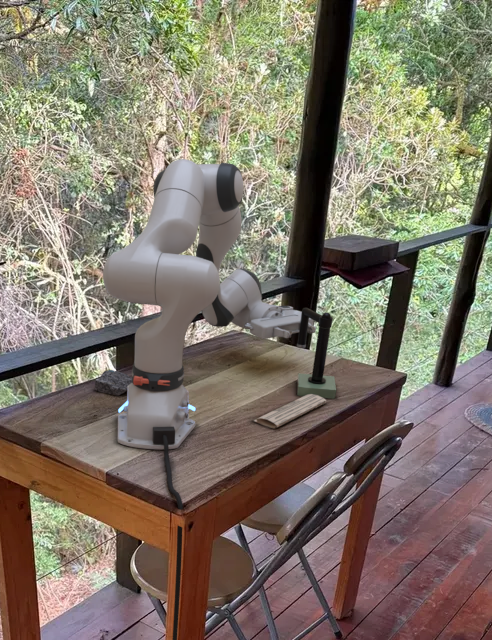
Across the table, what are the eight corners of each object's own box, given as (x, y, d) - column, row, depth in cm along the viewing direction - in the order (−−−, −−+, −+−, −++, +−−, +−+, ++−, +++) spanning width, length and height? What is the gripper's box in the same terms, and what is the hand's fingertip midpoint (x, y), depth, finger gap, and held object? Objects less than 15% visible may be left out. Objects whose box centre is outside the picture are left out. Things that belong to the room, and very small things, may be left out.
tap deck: (334, 398, 200) (336, 390, 199) (297, 395, 201) (298, 386, 199) (332, 384, 209) (334, 376, 208) (297, 381, 210) (298, 373, 209)
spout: (329, 359, 200) (336, 313, 193) (318, 360, 198) (324, 314, 192) (304, 345, 210) (310, 301, 203) (293, 346, 208) (299, 301, 202)
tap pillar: (325, 385, 201) (334, 330, 194) (308, 383, 202) (315, 329, 194) (325, 379, 205) (333, 325, 198) (307, 377, 206) (315, 324, 198)
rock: (123, 398, 193) (123, 383, 191) (91, 390, 197) (91, 374, 195) (140, 390, 198) (140, 375, 196) (108, 382, 203) (108, 367, 200)
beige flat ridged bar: (276, 429, 180) (277, 423, 179) (252, 421, 184) (253, 414, 183) (326, 404, 196) (327, 398, 195) (302, 397, 200) (303, 391, 199)
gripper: (241, 313, 208) (276, 326, 199) (293, 305, 219) (328, 316, 210) (239, 336, 211) (273, 349, 202) (291, 326, 222) (325, 338, 213)
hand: (302, 332), depth 206 cm, fingers open, 8 cm apart
